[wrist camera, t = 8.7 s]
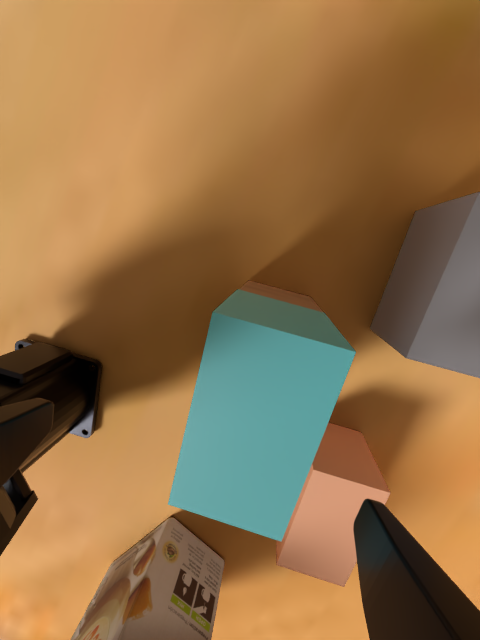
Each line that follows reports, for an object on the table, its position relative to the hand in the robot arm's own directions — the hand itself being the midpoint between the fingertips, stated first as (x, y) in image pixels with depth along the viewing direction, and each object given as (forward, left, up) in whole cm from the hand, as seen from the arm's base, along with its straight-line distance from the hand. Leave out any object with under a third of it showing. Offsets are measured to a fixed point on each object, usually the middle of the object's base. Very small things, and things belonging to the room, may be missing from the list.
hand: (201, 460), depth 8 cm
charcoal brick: (+6, -9, -11) cm, 16 cm away
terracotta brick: (-8, -7, -11) cm, 15 cm away
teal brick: (0, -1, -6) cm, 6 cm away
